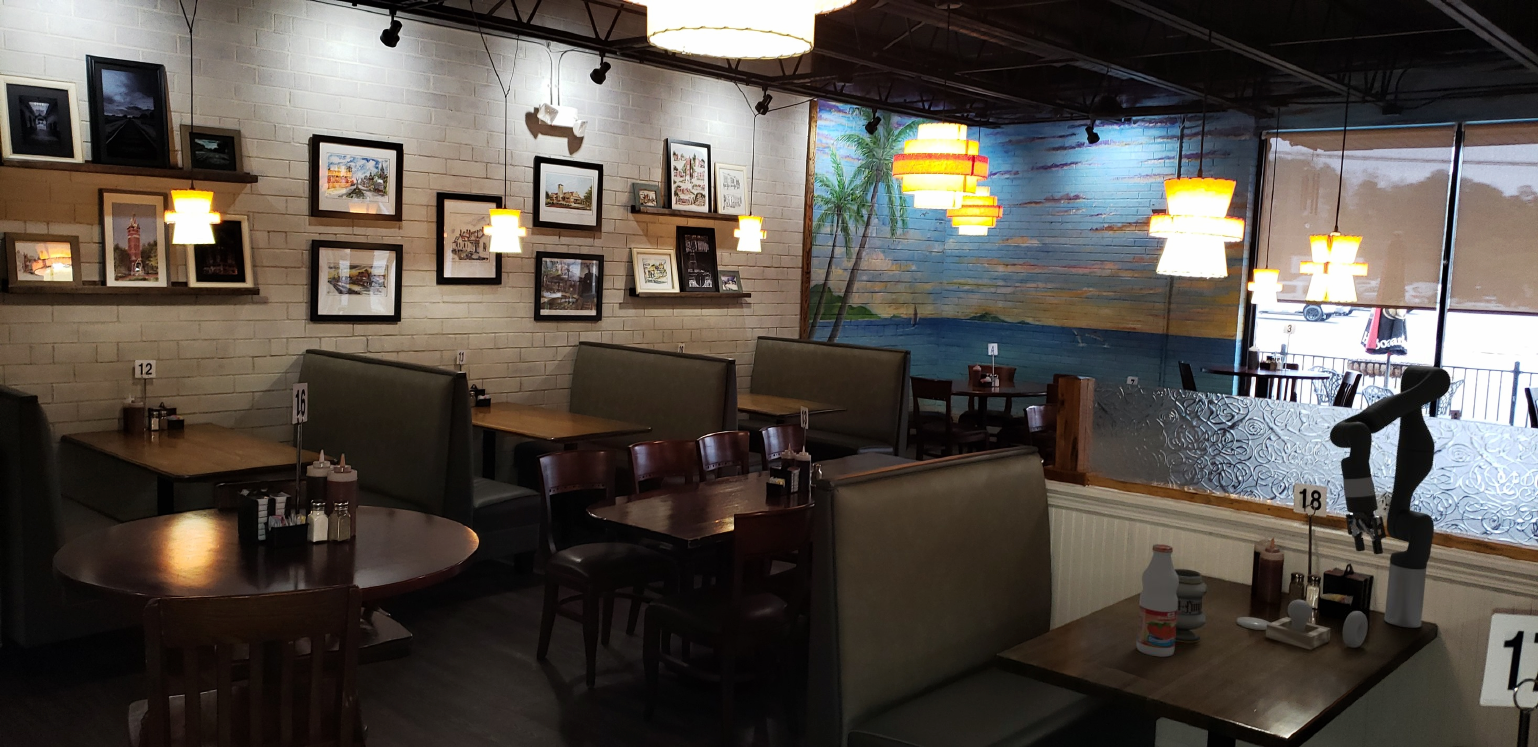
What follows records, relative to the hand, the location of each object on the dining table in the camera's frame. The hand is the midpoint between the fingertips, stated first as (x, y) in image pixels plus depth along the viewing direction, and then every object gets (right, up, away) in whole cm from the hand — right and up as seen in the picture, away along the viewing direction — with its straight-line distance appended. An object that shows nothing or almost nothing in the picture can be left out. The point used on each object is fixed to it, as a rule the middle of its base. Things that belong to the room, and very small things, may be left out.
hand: (1369, 552), depth 296 cm
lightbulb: (-21, -24, -1) cm, 32 cm away
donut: (-8, -25, -6) cm, 27 cm away
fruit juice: (-65, -23, -16) cm, 71 cm away
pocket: (-21, -24, -1) cm, 31 cm away
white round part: (-28, -22, +10) cm, 37 cm away
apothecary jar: (-53, -23, -3) cm, 58 cm away
